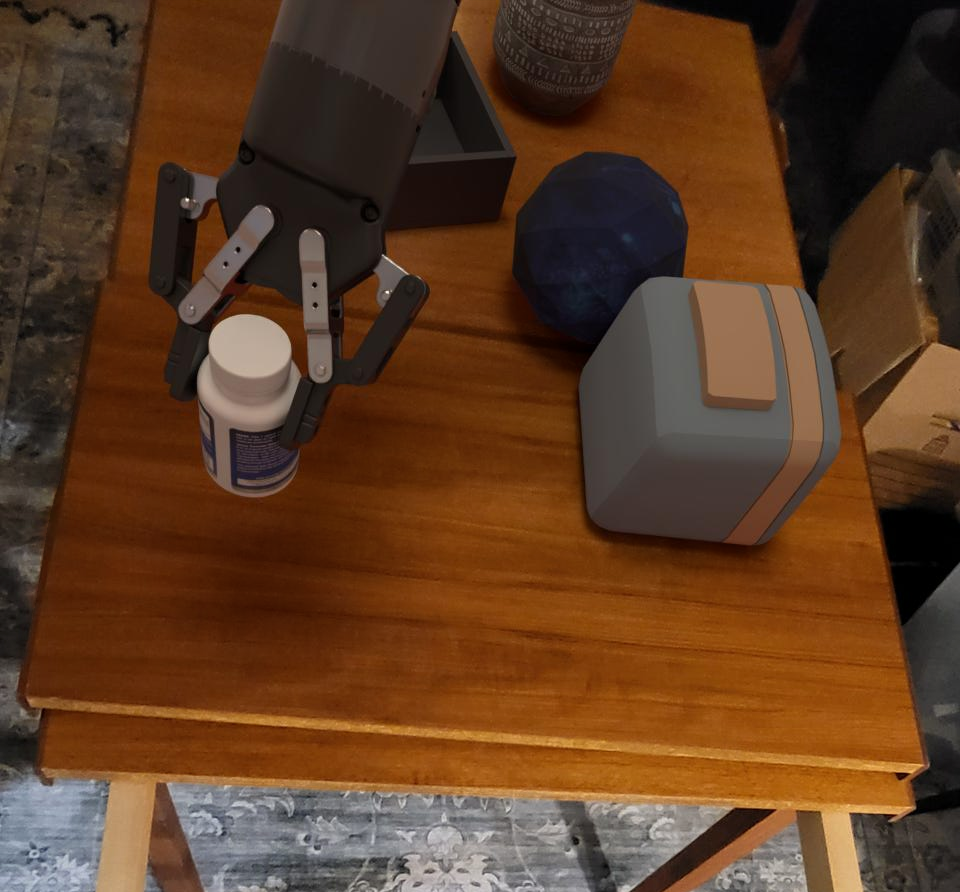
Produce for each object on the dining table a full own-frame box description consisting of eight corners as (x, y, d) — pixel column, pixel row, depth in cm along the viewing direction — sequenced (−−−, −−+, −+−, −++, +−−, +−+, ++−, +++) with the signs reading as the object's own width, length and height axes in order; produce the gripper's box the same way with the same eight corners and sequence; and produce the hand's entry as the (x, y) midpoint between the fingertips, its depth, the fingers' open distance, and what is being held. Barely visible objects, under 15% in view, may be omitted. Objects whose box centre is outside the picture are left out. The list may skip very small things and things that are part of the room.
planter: (459, 71, 94) (488, -68, 83) (536, 30, 99) (573, -107, 88) (549, 147, 93) (591, 16, 81) (622, 101, 98) (672, -29, 86)
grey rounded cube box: (769, 557, 79) (882, 443, 65) (582, 538, 76) (659, 413, 61) (744, 398, 85) (843, 262, 71) (571, 374, 82) (638, 226, 68)
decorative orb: (731, 313, 82) (720, 119, 72) (614, 387, 76) (585, 185, 66) (609, 297, 91) (586, 124, 82) (496, 361, 85) (457, 182, 76)
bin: (335, 235, 82) (342, 168, 76) (285, 107, 87) (288, 34, 81) (498, 220, 87) (517, 156, 81) (443, 99, 92) (457, 30, 86)
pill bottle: (316, 451, 56) (327, 337, 48) (267, 516, 54) (269, 408, 45) (236, 407, 56) (233, 284, 48) (184, 469, 54) (170, 352, 45)
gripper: (173, -21, 40) (70, 366, 45) (485, 127, 41) (346, 491, 46) (233, 35, 47) (138, 364, 53) (498, 160, 48) (376, 472, 53)
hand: (236, 422), depth 49 cm, fingers closed on pill bottle, 5 cm apart
